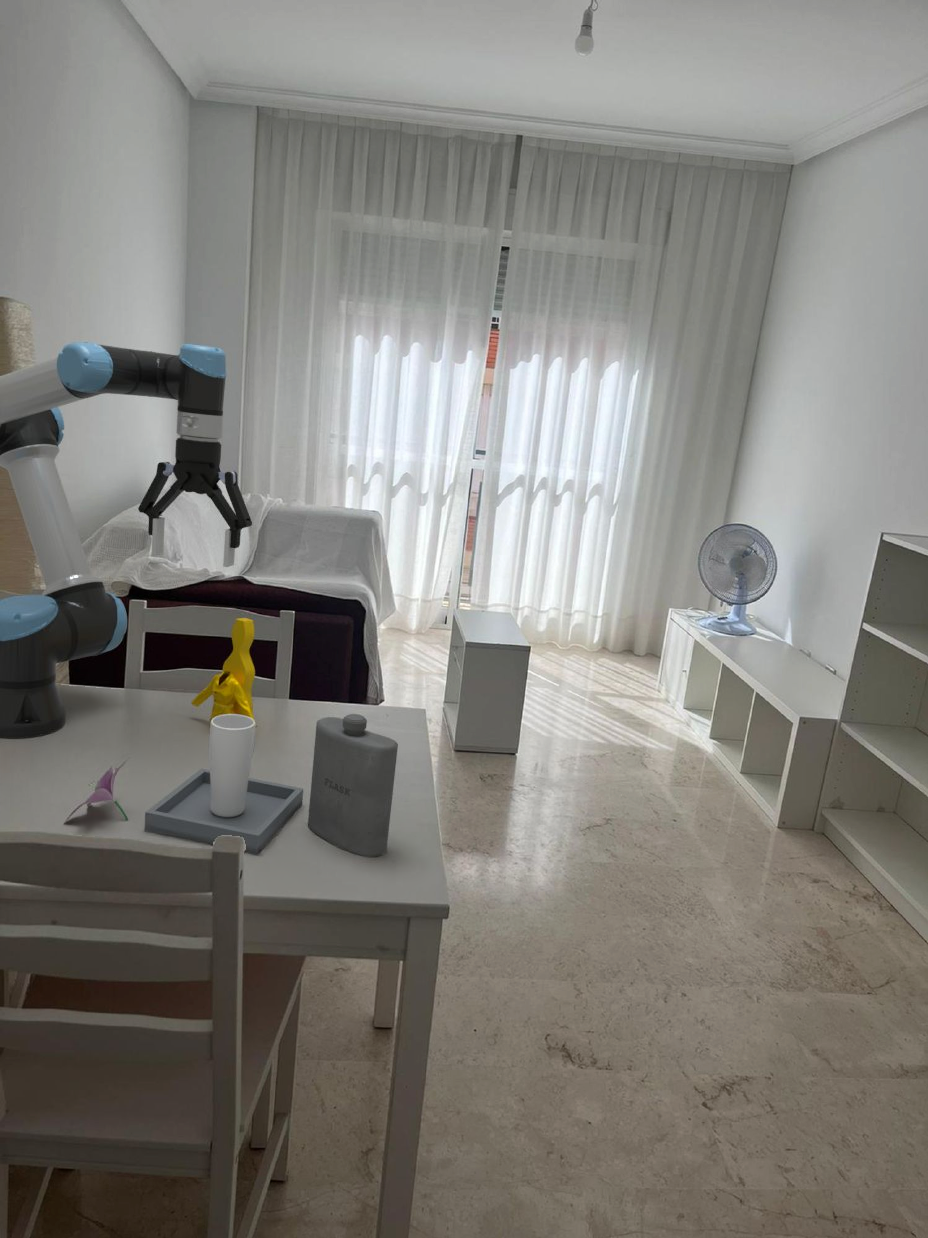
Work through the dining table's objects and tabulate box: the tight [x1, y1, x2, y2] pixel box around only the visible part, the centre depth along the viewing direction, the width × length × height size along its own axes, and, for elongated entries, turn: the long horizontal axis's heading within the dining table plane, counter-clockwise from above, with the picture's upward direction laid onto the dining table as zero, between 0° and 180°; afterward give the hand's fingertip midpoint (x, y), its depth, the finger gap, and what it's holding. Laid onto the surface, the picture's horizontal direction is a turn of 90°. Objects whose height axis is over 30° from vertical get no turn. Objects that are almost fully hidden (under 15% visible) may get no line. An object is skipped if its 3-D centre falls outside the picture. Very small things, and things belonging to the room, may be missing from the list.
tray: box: [144, 768, 304, 855], centre depth 144 cm, size 18×18×3 cm
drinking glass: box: [208, 714, 256, 817], centre depth 142 cm, size 7×7×15 cm
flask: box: [307, 713, 399, 858], centre depth 140 cm, size 15×6×20 cm, turn 53°
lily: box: [63, 756, 131, 824], centre depth 139 cm, size 12×12×10 cm
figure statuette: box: [190, 617, 257, 729], centre depth 178 cm, size 18×8×22 cm, turn 57°
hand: (192, 560), depth 163 cm, fingers open, 13 cm apart
